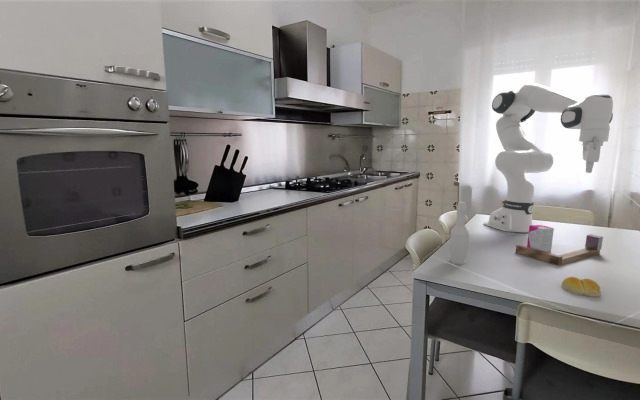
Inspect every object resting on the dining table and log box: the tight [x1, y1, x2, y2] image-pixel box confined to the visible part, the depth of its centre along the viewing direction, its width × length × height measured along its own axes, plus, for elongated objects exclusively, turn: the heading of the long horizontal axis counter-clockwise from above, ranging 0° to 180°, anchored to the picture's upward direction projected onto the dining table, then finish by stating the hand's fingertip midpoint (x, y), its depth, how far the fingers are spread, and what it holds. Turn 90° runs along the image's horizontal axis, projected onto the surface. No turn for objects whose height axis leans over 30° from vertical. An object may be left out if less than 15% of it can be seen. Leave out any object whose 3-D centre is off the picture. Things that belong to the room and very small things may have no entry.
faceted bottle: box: [449, 201, 470, 265], centre depth 119 cm, size 6×6×22 cm
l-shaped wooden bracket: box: [515, 234, 604, 266], centre depth 130 cm, size 16×28×7 cm, turn 117°
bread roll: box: [561, 276, 601, 298], centre depth 98 cm, size 8×9×4 cm
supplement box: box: [526, 224, 555, 253], centre depth 128 cm, size 6×6×12 cm
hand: (588, 172), depth 133 cm, fingers closed
